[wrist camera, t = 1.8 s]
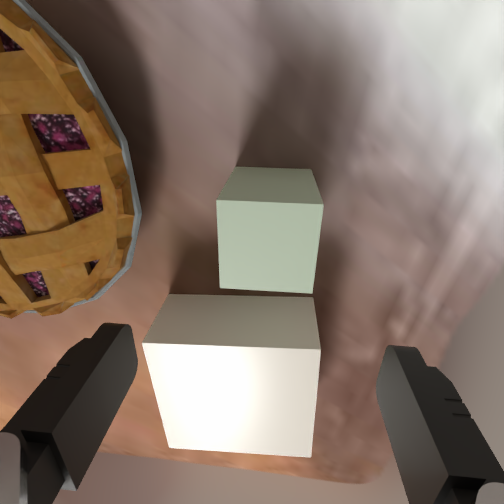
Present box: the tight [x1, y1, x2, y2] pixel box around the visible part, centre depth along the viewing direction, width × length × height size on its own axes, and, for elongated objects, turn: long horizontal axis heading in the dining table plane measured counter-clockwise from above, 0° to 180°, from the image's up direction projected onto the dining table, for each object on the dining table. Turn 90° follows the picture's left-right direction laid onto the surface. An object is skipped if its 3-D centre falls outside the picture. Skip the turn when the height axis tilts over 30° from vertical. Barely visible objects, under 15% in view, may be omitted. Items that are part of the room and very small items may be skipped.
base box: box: [142, 294, 321, 457], centre depth 26 cm, size 12×12×6 cm
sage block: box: [216, 167, 324, 294], centre depth 19 cm, size 5×5×7 cm
